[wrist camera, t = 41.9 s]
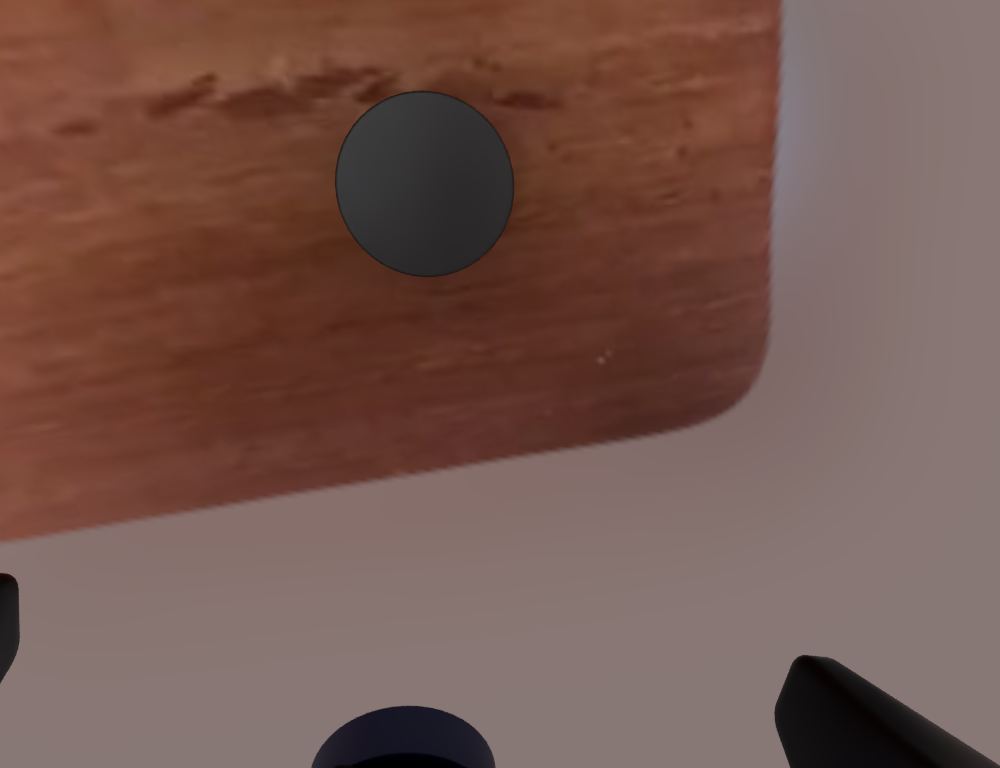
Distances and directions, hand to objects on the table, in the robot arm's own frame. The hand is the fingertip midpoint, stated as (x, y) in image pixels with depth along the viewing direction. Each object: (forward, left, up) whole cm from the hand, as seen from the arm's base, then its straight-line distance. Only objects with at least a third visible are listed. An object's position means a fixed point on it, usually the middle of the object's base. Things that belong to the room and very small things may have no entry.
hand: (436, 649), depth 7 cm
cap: (+5, +1, -9) cm, 10 cm away
